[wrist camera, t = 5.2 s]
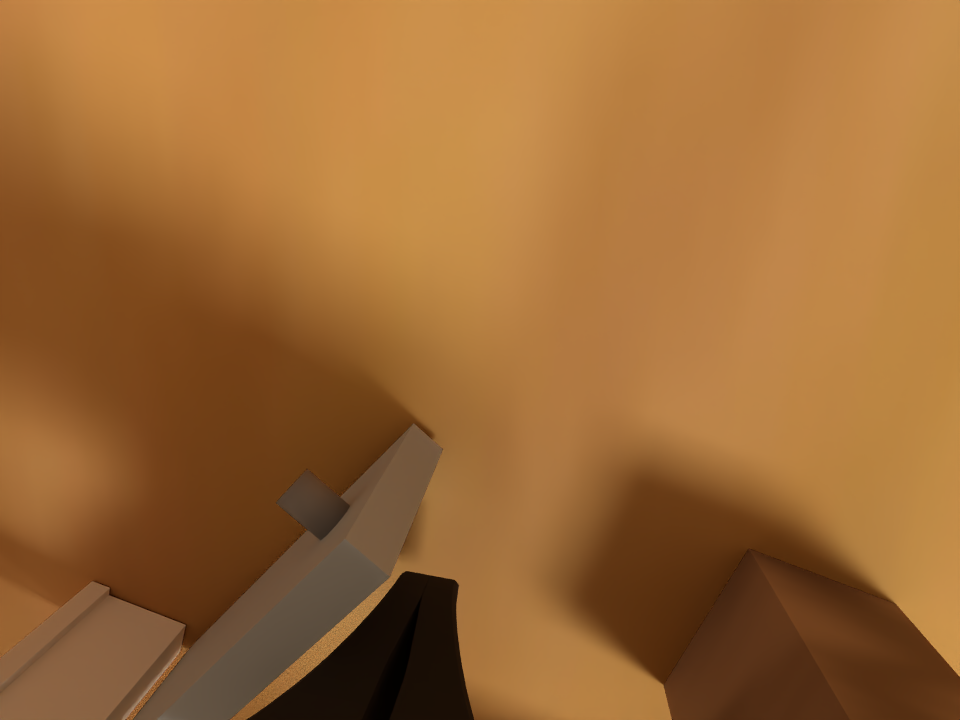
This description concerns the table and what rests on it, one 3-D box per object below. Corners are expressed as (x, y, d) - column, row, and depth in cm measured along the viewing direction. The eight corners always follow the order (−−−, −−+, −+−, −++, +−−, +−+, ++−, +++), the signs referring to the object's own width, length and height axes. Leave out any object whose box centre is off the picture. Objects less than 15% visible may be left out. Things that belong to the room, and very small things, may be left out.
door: (378, 391, 13) (277, 505, 8) (442, 449, 13) (382, 593, 8) (151, 631, 16) (-18, 816, 11) (207, 674, 17) (64, 874, 12)
